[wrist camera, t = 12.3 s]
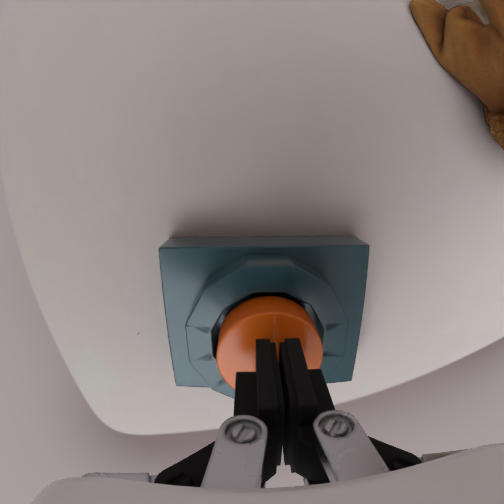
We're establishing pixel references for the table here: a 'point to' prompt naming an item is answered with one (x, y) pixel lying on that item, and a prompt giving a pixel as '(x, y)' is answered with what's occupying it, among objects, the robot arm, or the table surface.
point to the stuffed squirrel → (470, 50)
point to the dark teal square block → (261, 284)
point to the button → (264, 334)
